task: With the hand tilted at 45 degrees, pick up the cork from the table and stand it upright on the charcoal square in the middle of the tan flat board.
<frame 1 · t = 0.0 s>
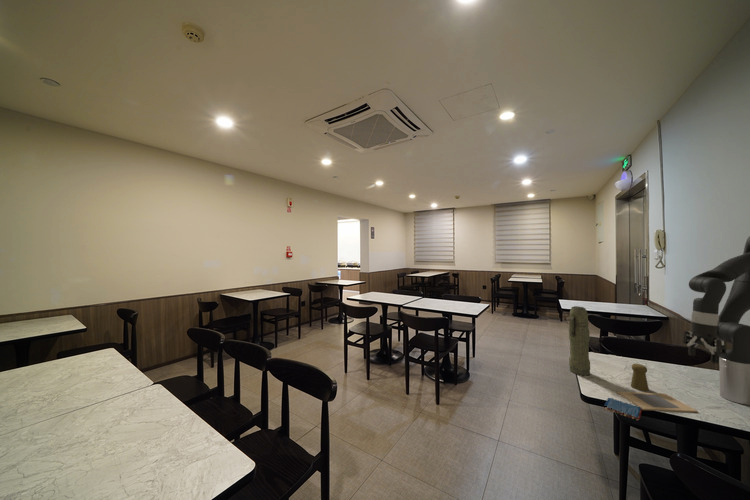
hand: (702, 359, 115), 17 cm above the table, tool pointing down, fingers open, 8 cm apart
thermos: (579, 372, 140), on the table
cork: (639, 388, 124), on the table
tan flat board: (654, 402, 112), on the table
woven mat: (623, 411, 107), on the table
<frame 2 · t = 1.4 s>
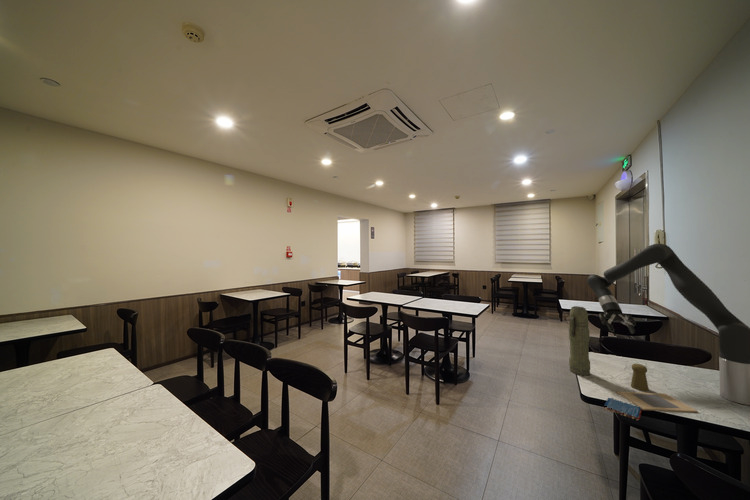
hand: (623, 332, 135), 23 cm above the table, tool tilted 45°, fingers open, 8 cm apart
nothing on the table moved.
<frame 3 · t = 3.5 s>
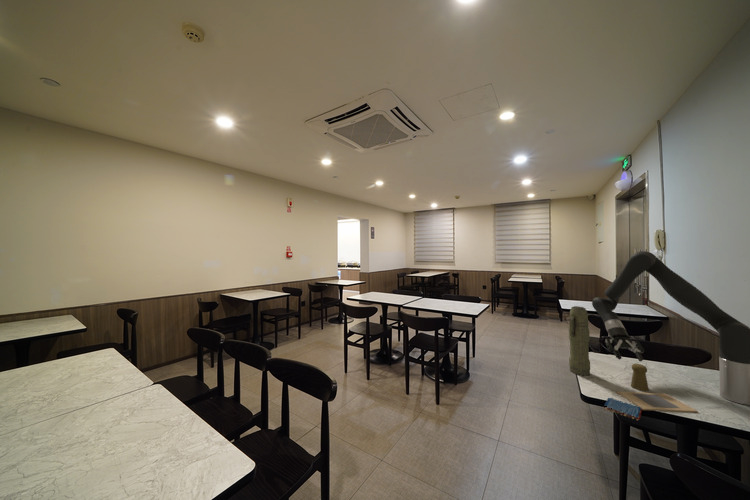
hand: (630, 359, 130), 11 cm above the table, tool tilted 45°, fingers open, 8 cm apart
nothing on the table moved.
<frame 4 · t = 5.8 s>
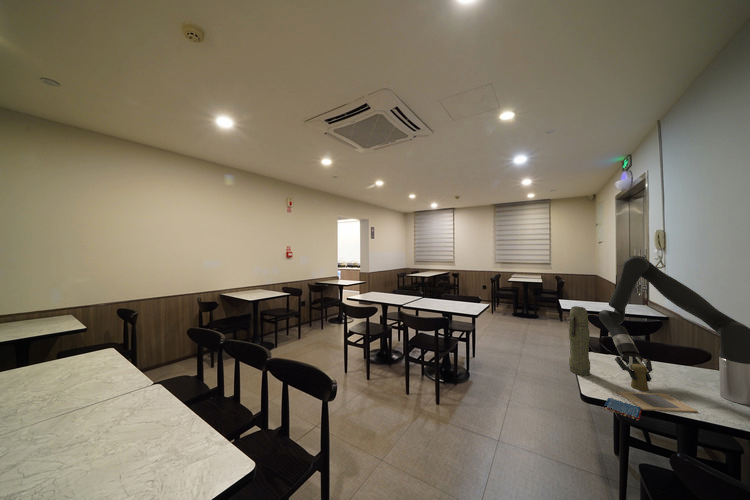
hand: (642, 380, 122), 5 cm above the table, tool tilted 45°, fingers closed on cork, 4 cm apart
cork: (639, 388, 124), on the table, touching gripper
everything else where it was.
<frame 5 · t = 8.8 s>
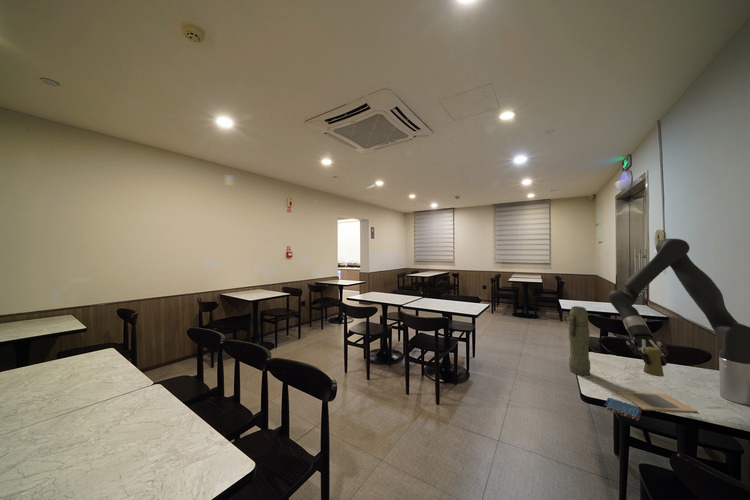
hand: (656, 364, 111), 17 cm above the table, tool tilted 45°, fingers closed on cork, 4 cm apart
cork: (653, 373, 112), point 12 cm above the table, touching gripper
everything else where it was.
when the fingers open (6 cm above the table, at t = 11.7 s): cork moves 2 cm, resting on tan flat board.
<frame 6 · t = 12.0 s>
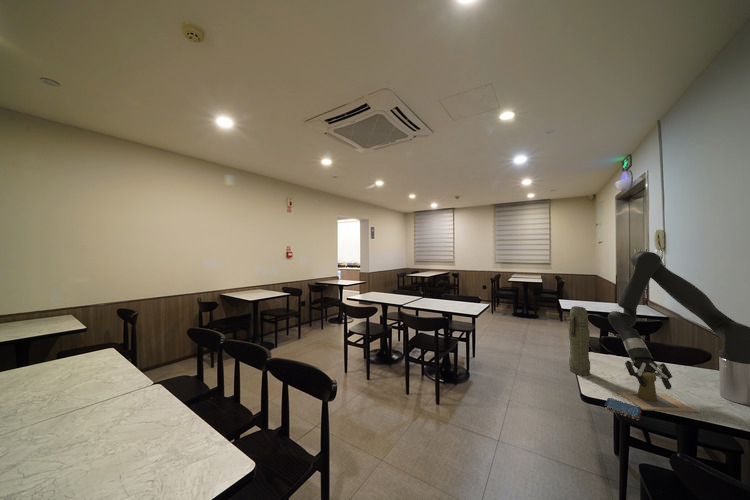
hand: (656, 387, 111), 7 cm above the table, tool tilted 45°, fingers open, 8 cm apart
cork: (647, 398, 114), point 1 cm above the table, touching gripper, tan flat board
everything else where it was.
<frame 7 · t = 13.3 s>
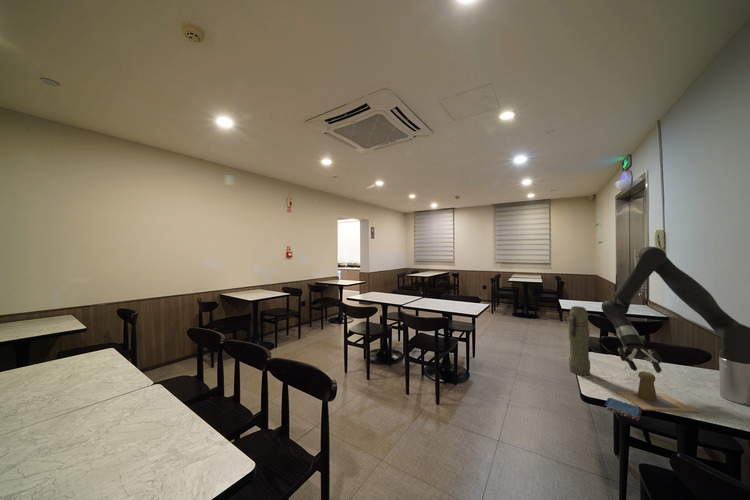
hand: (647, 371, 116), 11 cm above the table, tool tilted 45°, fingers open, 8 cm apart
cork: (647, 398, 114), point 1 cm above the table, touching tan flat board
everything else where it was.
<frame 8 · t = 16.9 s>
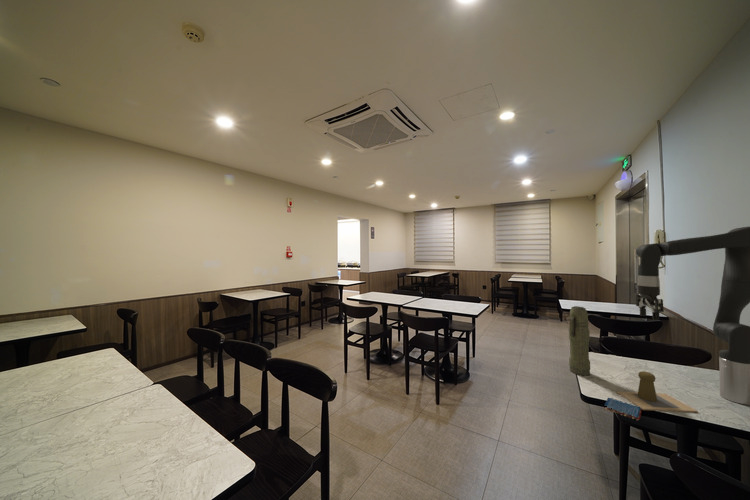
hand: (649, 317, 128), 32 cm above the table, tool pointing down, fingers open, 8 cm apart
nothing on the table moved.
at the end: cork inside the target area on the tan flat board (2.3 cm from its centre), point 0.5 cm above the tan flat board's base; cork tilted 0°; the gripper is holding nothing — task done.
